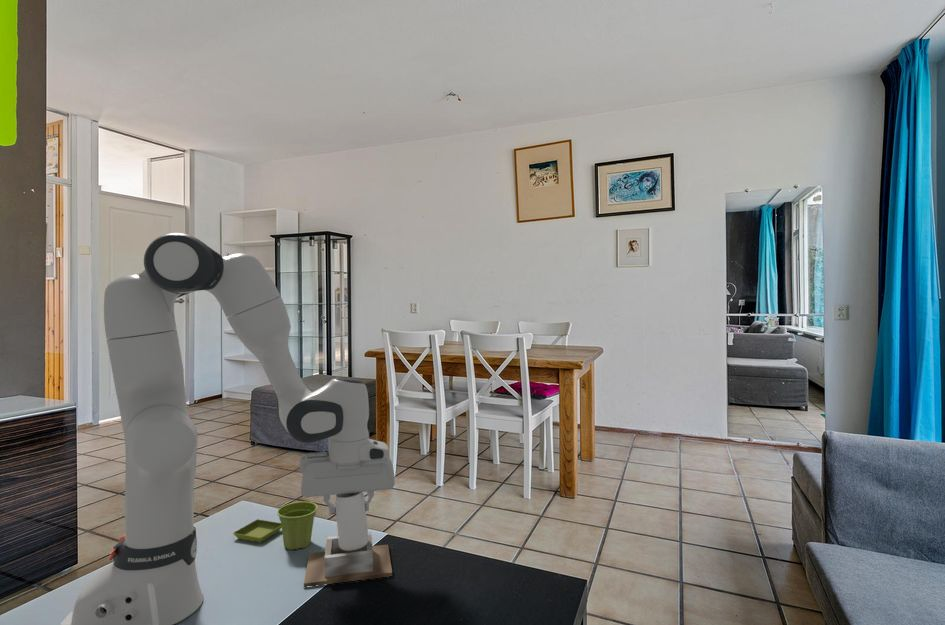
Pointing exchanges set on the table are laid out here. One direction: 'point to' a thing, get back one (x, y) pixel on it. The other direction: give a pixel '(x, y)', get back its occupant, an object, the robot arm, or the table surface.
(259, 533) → the saucer
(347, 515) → the can
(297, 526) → the plant pot
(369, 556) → the socket board
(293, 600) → the table surface
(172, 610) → the robot arm
